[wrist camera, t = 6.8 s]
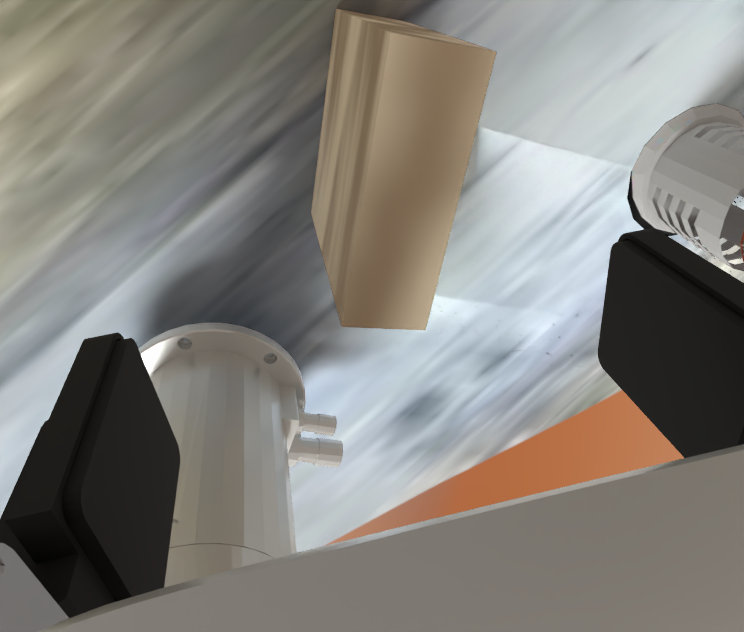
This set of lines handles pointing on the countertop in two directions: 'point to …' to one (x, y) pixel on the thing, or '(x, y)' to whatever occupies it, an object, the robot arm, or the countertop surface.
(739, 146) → the french press
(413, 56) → the maple block
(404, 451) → the countertop surface
